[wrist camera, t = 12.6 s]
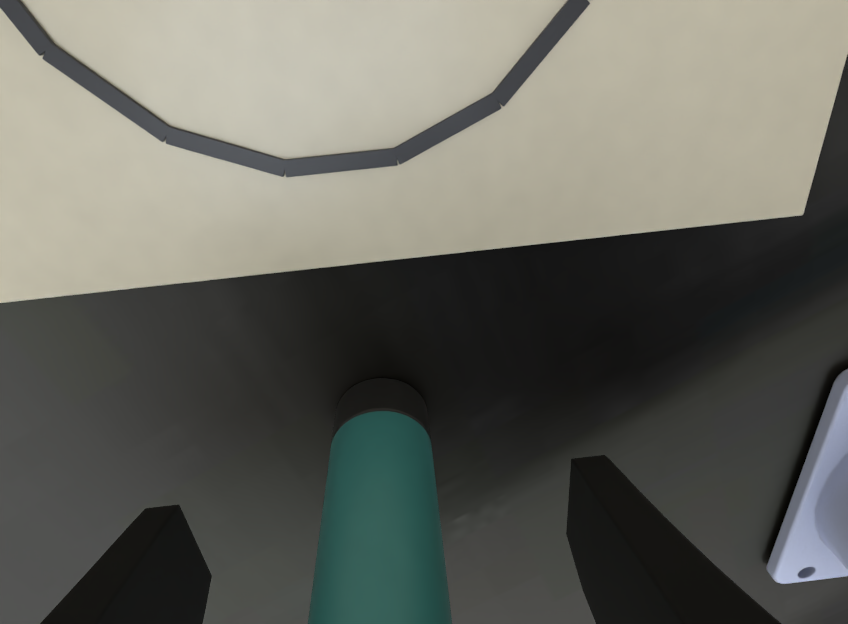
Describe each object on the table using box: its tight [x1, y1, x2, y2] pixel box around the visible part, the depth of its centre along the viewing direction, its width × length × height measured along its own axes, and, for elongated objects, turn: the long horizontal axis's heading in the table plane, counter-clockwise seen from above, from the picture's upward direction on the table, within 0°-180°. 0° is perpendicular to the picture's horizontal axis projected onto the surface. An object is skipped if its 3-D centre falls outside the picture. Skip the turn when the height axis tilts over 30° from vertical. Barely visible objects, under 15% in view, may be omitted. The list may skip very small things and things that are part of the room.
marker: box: [308, 378, 452, 624], centre depth 8 cm, size 2×2×10 cm
